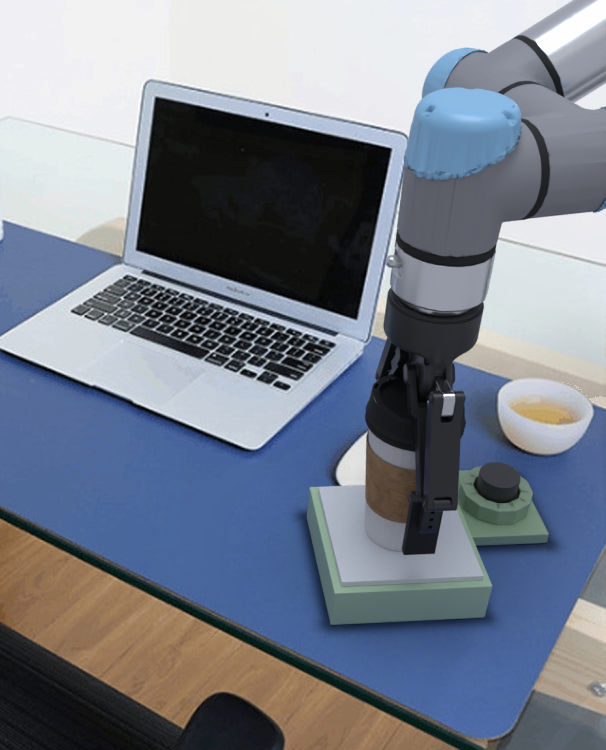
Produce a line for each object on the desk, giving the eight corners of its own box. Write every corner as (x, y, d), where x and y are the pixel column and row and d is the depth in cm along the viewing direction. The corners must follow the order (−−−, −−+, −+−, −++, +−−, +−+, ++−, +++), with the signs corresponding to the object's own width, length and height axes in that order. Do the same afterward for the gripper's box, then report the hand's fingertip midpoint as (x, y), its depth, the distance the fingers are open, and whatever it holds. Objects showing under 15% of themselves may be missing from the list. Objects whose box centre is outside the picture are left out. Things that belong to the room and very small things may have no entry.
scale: (443, 512, 101) (450, 477, 99) (484, 617, 90) (494, 581, 87) (306, 517, 100) (309, 482, 97) (330, 625, 88) (335, 588, 86)
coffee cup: (364, 489, 97) (383, 359, 88) (451, 513, 94) (478, 382, 86) (338, 544, 90) (355, 410, 82) (430, 573, 88) (458, 437, 79)
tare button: (509, 476, 102) (513, 460, 101) (522, 502, 99) (526, 487, 98) (471, 478, 102) (474, 462, 100) (482, 504, 98) (486, 488, 97)
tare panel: (513, 477, 106) (519, 454, 104) (546, 543, 98) (553, 520, 96) (440, 479, 105) (444, 457, 104) (467, 546, 97) (472, 523, 95)
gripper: (359, 226, 88) (337, 424, 100) (428, 381, 68) (390, 604, 80) (442, 225, 88) (410, 422, 101) (535, 378, 69) (481, 600, 81)
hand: (401, 503), depth 90 cm, fingers open, 12 cm apart
